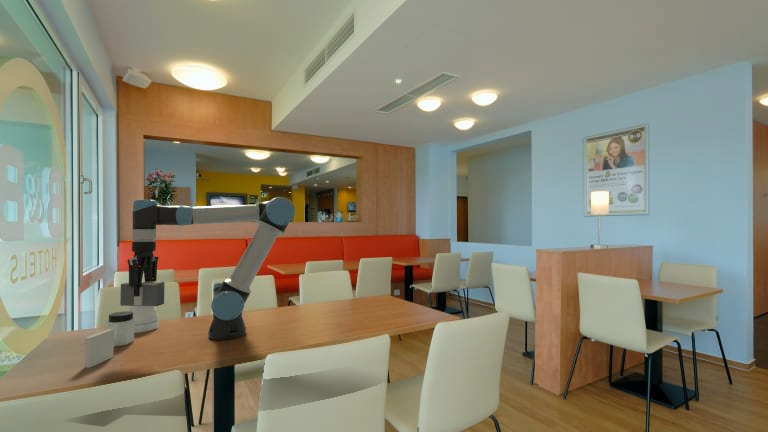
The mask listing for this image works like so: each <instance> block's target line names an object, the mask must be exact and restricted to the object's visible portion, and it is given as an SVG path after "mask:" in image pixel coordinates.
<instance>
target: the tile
mask: <svg viewBox="0 0 768 432" xmlns="http://www.w3.org/2000/svg"><path fill="white" fill-rule="evenodd" d="M114 349H115V347H114V329H108V330H107V329H106V330H103V331H100V332H97V333H95V334H91V335H89V336H87V337H85V338H84V368H93V367H95V366H96V365H97V366H98V365H99V364H101V363H105V361H108V360H110V359H112V358H114Z"/></svg>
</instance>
